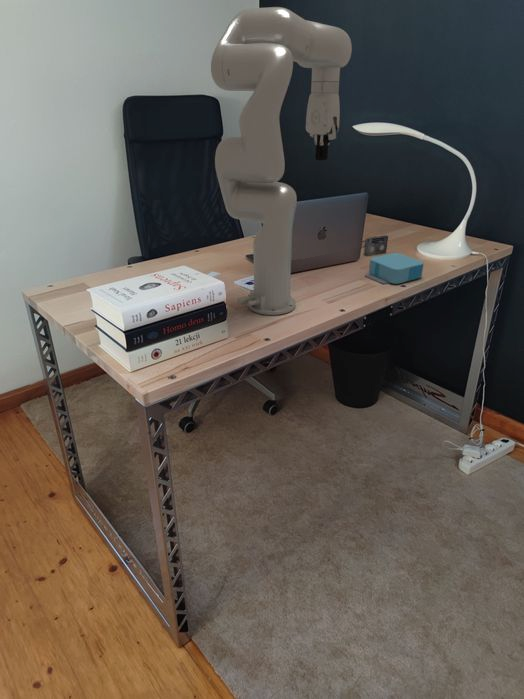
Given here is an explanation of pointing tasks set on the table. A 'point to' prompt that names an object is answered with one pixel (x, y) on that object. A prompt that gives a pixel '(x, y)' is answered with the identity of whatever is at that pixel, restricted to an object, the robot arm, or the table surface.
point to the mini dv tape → (375, 245)
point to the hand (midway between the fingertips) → (321, 159)
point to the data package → (396, 268)
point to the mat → (376, 279)
